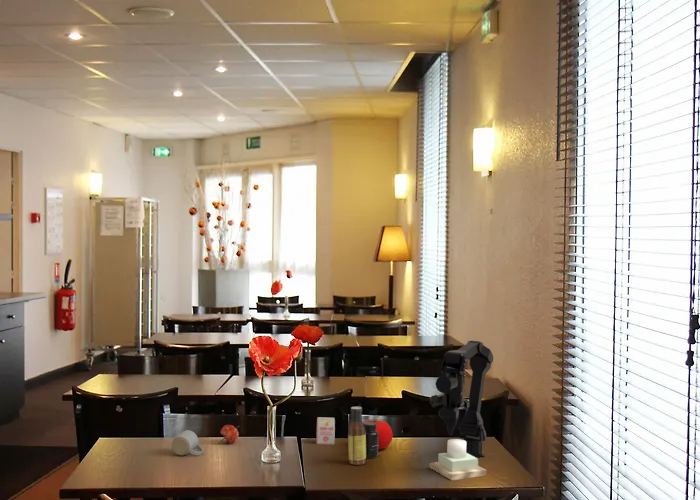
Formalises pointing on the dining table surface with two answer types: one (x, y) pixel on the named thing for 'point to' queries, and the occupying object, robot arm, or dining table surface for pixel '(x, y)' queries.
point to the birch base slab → (457, 472)
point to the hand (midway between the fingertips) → (453, 431)
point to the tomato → (383, 433)
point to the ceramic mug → (186, 443)
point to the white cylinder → (456, 448)
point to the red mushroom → (229, 433)
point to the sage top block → (458, 462)
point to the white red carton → (325, 431)
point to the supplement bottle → (371, 440)
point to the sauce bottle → (356, 438)
